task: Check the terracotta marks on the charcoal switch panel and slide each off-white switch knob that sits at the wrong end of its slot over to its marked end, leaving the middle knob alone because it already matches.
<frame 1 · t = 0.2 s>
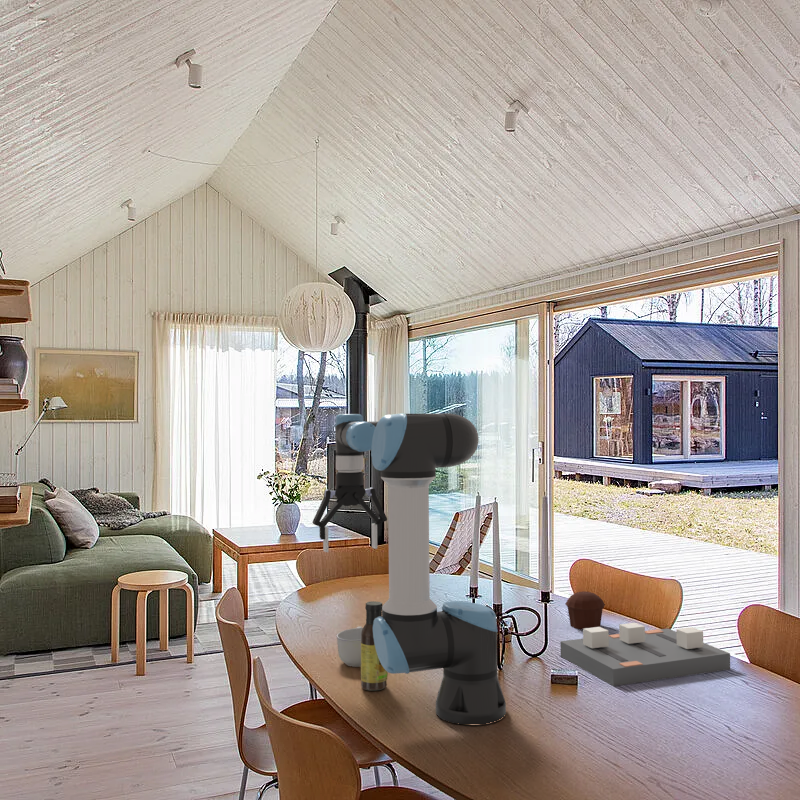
hand: (350, 549, 213), 28 cm above the table, tool pointing down, fingers open, 13 cm apart
switch middle: (632, 633, 206), point 6 cm above the table, slide at 4.5 cm
switch panel: (643, 662, 202), on the table
switch 1: (595, 637, 203), point 6 cm above the table, slide at 4.5 cm
teacup: (359, 662, 206), on the table
sauce bottle: (374, 688, 186), on the table
switch 2: (689, 638, 202), point 6 cm above the table, slide at -4.5 cm
muffin: (585, 626, 237), on the table
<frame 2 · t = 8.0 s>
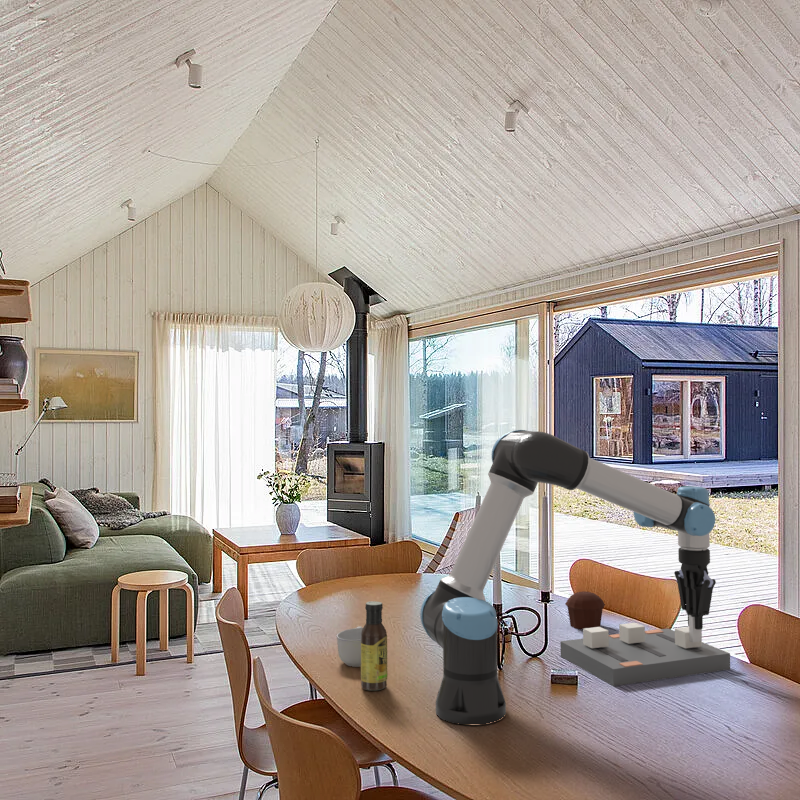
hand: (695, 640, 200), 6 cm above the table, tool pointing down, fingers closed
switch 2: (688, 637, 202), point 6 cm above the table, slide at -3.9 cm, touching gripper
everything else where it was.
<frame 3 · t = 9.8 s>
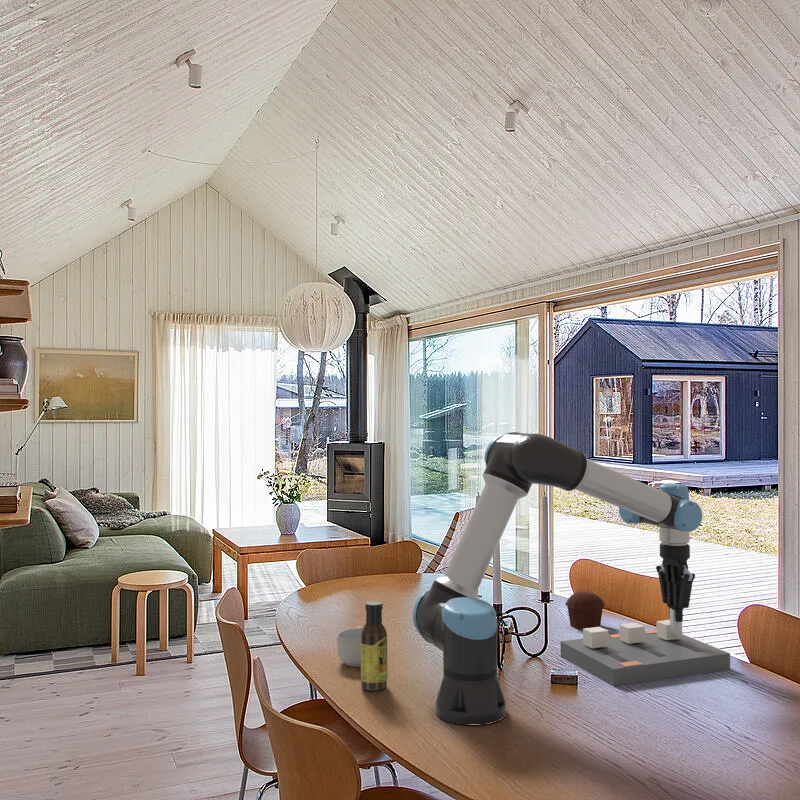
hand: (676, 633, 207), 6 cm above the table, tool pointing down, fingers closed
switch 2: (669, 629, 209), point 6 cm above the table, slide at 3.6 cm, touching gripper
everything else where it was.
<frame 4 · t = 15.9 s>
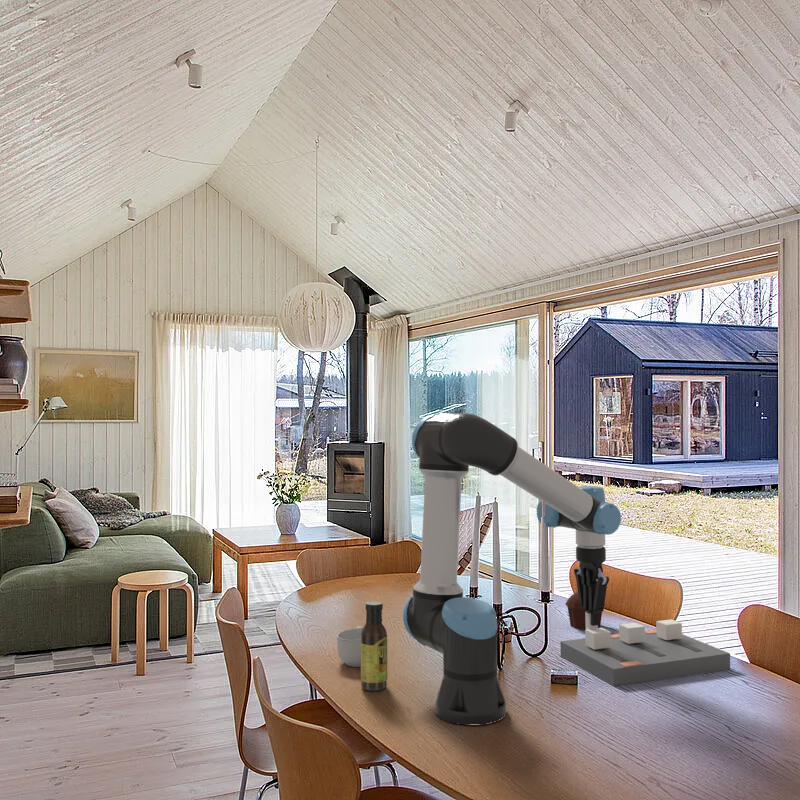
hand: (591, 636, 204), 6 cm above the table, tool pointing down, fingers closed
switch 1: (598, 638, 202), point 6 cm above the table, slide at 3.5 cm, touching gripper
switch 2: (669, 629, 209), point 6 cm above the table, slide at 3.7 cm
everything else where it was.
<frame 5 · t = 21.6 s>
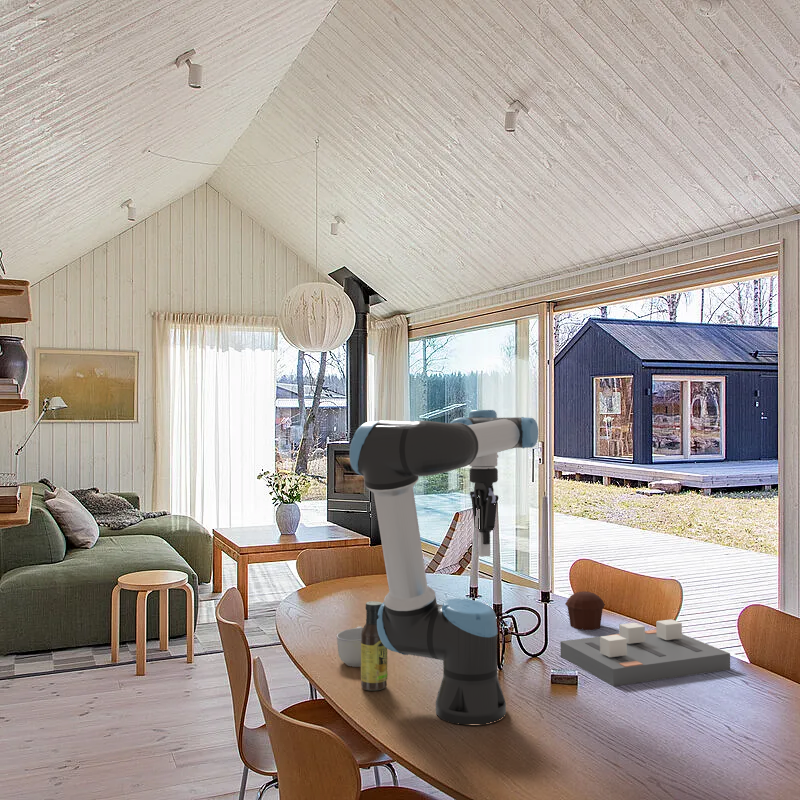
hand: (484, 555, 210), 26 cm above the table, tool pointing down, fingers closed
switch 1: (613, 645, 196), point 6 cm above the table, slide at -3.3 cm
everything else where it was.
at the end: switch 2 slide at 3.7 cm; switch middle slide at 4.5 cm; switch 1 slide at -3.3 cm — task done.
